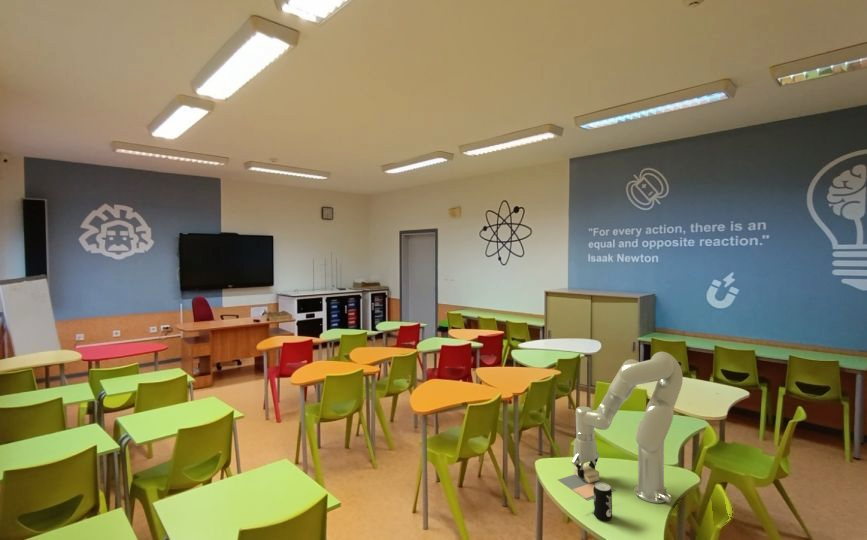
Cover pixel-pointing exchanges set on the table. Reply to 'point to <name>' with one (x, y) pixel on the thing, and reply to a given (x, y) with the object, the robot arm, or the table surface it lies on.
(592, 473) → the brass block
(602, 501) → the beverage can
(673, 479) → the table surface
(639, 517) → the table surface
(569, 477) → the rubber mat
